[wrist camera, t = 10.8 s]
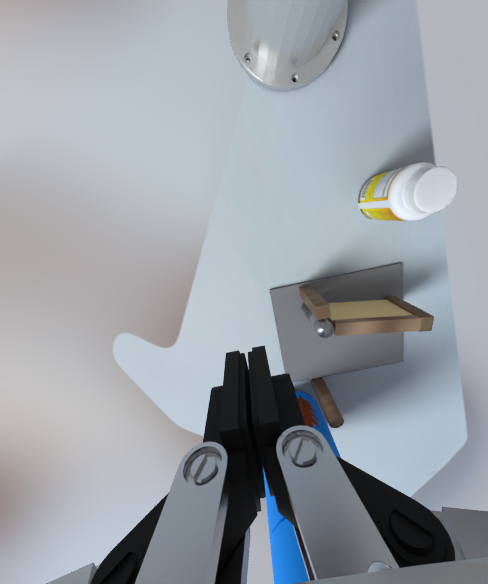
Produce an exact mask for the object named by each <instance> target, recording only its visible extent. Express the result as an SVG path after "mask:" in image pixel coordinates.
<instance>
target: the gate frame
mask: <svg viewBox="0 0 488 584" xmlns="http://www.w3.org/2000/svg"><path fill="white" fill-rule="evenodd" d="M270 294H271V300H272V305H273V310H274V316H275V321H276V327H277V332H278V337H279V343H280V348H281V353H282V359H283V364H284V370H285V374H287V373H289V374H290V377H291V380H292V382H297V381H303V380H308V379H312V380H311V383H312V386H313V388H314V390H315V393H316V395H317V397H318V400H319V402H320V404H321V407H322V409H323V411H324V414H325V416H326V418H327V420H328V423H329V425H330V426H331V427H333V428H338V427H340V426H342V425H343V423H344V420H343V418H342V416H341V414H340V412H339V410H338V408H337V406H336V404H335V402H334V400H333V398H332V396H331V394H330V392H329V390H328V388H327V386H326V384H325V382H324V380H323V378H322V377H324V376H329V375H335V374H340V373H345V372H351V371H356V370H361V369H367V368H372V367H377V366H383V365H388V364H393V363H399V362H403V332H390V333H374V334H358V335H342V336H335V335H334V333H333V334H332V335H331V336H330V337H328V338H322V337H320V336H319V335H318V334H317V332H316V331H315V329H314V328H313V326H312V325H311V323H310V322H309V320H308V319H307V317H306V315H305V314H304V312H303V311H302V308H301V307H302V304H303V303H305V304H306V305H307V307H308V308H309V310H310V311H311V312H312V314H313V315H314V316H315V318H316V319H317V320H319V319H324V318H329V317H331V313H330V304H329V303H340V302H356V301H371V300H384V299H385V296H396V297H398V298H400V299H401V300H402V263H396V264H391V265H387V266H382V267H377V268H372V269H367V270H362V271H357V272H353V273H348V274H343V275H338V276H333V277H328V278H323V279H319V280H314V281H309V282H304V283H299V284H294V285H289V286H285V287H280V288H275V289H270Z"/></svg>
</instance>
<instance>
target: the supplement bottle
mask: <svg viewBox="0 0 488 584" xmlns="http://www.w3.org/2000/svg"><path fill="white" fill-rule="evenodd" d="M456 191H457V178H456V176H455V174H454V172H453V171H452V170H450V169H449V168H446V167H437V166H436V165H434V164H431V163H427V162H421V163H415V164H411V165H408V166H405V167H402V168H398V169H395V170H392V171H388V172H385V173H382V174H378V175H375V176H373V177H371V178H370V179H368V180H367V181H366V182H365V183H364V184H363V185H362V187H361V189H360V191H359V193H358V198H357V204H358V208H359V210H360V212H361V213H362V214H363V215H364V216H365V217H366V218H369V219H372V220H398V221H415V220H420V219H423V218H425V217H427V216H429V215H430V214H432V213H433V212H437V211H440V210H442V209H443V208H445V207H446V206H447V205H448V204H449V203H450V202H451V201H452V199H453V198H454V196H455V194H456Z"/></svg>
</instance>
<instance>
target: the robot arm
mask: <svg viewBox="0 0 488 584" xmlns="http://www.w3.org/2000/svg"><path fill="white" fill-rule="evenodd" d="M347 14H348V0H228V8H227V20H228V31H229V37H230V42H231V45H232V48H233V51H234V54H235V56H236V58H237V60H238V61H239V63H240V65H241V66H242V68H243V69H244V70H245V72H246V73H247V74H248V75H249V76H250V77H251V78H252V79H253V80H254V81H256V82H257V83H258V84H260V85H262V86H264V87H266V88H269V89H272V90H276V91H290V90H296V89H299V88H301V87H304V86H306V85H308V84H309V83H311V82H312V81H314V80H315V79H317V78H318V77H319V76H320V75H321V74H322V73H323V72H324V71H325V69H326V68H327V67H328V65H329V64H330V62H331V61H332V59H333V58H334V56H335V54H336V52H337V50H338V49H339V46H340V44H341V41H342V39H343V36H344V32H345V27H346V23H347ZM333 39H334V40H335V41H334V40H333ZM247 60H249V61H250V62H249V63H247V62H246V61H247ZM293 79H294V80H295V81H296V82H293V81H292V80H293ZM248 362H249V370H248V366H247V362H246V357H245V354H244V353H241V354H240V352H239V351H234V352H229V353H226V360H225V370H224V381H223V386H218V387H213V388H212V390H211V395H210V401H209V408H208V414H207V420H206V427H205V433H204V439H203V443H201V444H199V445H197V446H195V447H194V448H192V449H191V450H190V451H189V452H188V453H187V454H186V455H185V456H184V457H183V459H182V461H181V463H180V465H179V467H178V470H177V473H176V475H175V478H174V481H173V483H172V486H171V489H170V491H169V493H168V494H167V495H166V496H165V497H164V498H163V499H162V500H161V501H160V502H159V503H158V504H157V506H155V507H154V508H153V509H152V510H151V511H150V512H149V513H148V514H147V515H146V516H145V518H143V520H141V521H140V522H139V523H138V524H137V525H136V527H134V529H133V530H132V531H131V532H130V533H129V534H128V535H127V536H126V537H125V538H124V539H123V540H122V541H121V542H120V543H119V544H118V545H117V546H116V547H115V548H114V549H113V550H112V551H111V552H110V553H109V554H108V555H107V557H106V558H105V559H104V560H103V562H102V563H101V564H100V565H98V566H95V565H94V563H92V564H90V565H87V566H85V567H82V568H80V569H78V570H76V571H73V572H71V573H69V574H67V575H65V576H62V577H60V578H58V579H56V580H53V581H51V582H49V583H47V584H246V582H247V569H248V557H249V545H250V525H251V524H252V522H253V521H254V519H255V518H256V516H257V512H258V511H261V505H260V498H265V497H266V492H265V481H264V472H265V476H266V480H267V484H268V488H269V492H270V496H274V497H275V501H276V505H277V509H278V512H279V513H280V514H281V515H282V516H284V517H285V518H286V519H287V520H288V521H289V522H290V523H291V524H293V528H294V531H295V535H296V538H297V542H298V545H299V548H300V552H301V555H302V558H303V562H304V565H305V568H306V572H307V575H308V578H309V581H306V582H299V583H293V584H488V511H478V510H468V509H458V508H448V507H442V512H440V511H430V510H429V509H427V508H426V507H424V506H423V505H421V504H420V503H419V502H417V501H415V500H413V499H412V498H410V497H408V496H406V495H405V494H403V493H401V492H399V491H398V490H396V489H394V488H392V487H391V486H389V485H387V484H385V483H383V482H382V481H380V480H378V479H376V478H375V477H373V476H371V475H369V474H367V473H366V472H364V471H362V470H360V469H359V468H357V467H355V466H353V465H352V464H350V463H348V462H346V461H344V460H343V459H341V458H339V457H337V456H336V455H335V454H334V453H333V451H332V449H331V447H330V446H329V444H328V442H327V440H326V439H325V438H324V436H323V435H322V434H321V433H320V432H319V431H317V430H316V429H314V428H311V427H309V426H306V425H305V421H304V418H303V415H302V412H301V409H300V406H299V402H298V399H297V396H296V393H295V390H294V387H293V383H292V380H291V377H290V374H289V373H287V374H282V375H276V376H271V374H270V370H269V365H268V360H267V355H266V351H265V346H260V347H254V348H252V352H248ZM263 468H264V471H263Z"/></svg>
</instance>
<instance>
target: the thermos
mask: <svg viewBox="0 0 488 584" xmlns="http://www.w3.org/2000/svg"><path fill="white" fill-rule="evenodd" d="M295 393H296V396H297V399H298V402H299V406H300V409H301V412H302V415H303V418H304V421H305V425H306V426H309V427H311V428H314V429H316V430H317V431H319V432H320V433H321V434H322V435H323V436H324V438H325V439H326V440H327V442H328V444H329V446H330V447H331V449H332V451H333V453H334V454H335V455H336V456H337V457H339V458H341V457H340V455H339V452H338V450H337V447H336V445H335V443H334V440H333V438H332V435H331V433H330V431H329V428H328V426H327V423H326V421H325V419H324V417H323V415H322V413H321V411H320V409H319V407H318V405H317V403H316V402H315V400H314V399H313V398H312V397H311V396H310V395H308V394H306V393H304V392H302V391H296V390H295ZM263 471H264V468H263ZM264 481H265V492H266V503H267V513H268V524H269V534H270V543H271V555H272V566H273V575H274V584H293V583H299V582H306V581H309V578H308V575H307V572H306V568H305V565H304V562H303V558H302V555H301V552H300V548H299V545H298V542H297V538H296V535H295V531H294V528H293V524H291V523H290V522H289V521H288V520H287V519H286V518H285V517H284V516H282V515H281V514H280V513H279V512H278V509H277V505H276V501H275V497H274V496H270V492H269V488H268V484H267V480H266V476H265V472H264Z"/></svg>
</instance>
